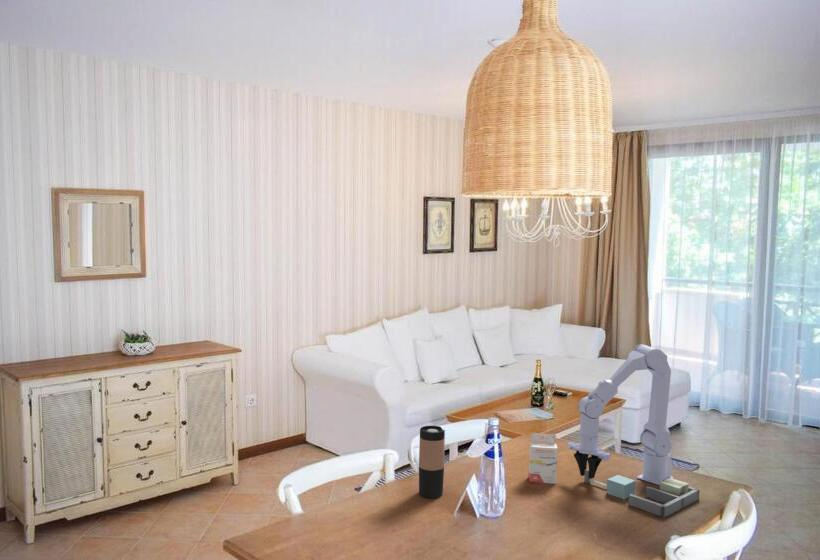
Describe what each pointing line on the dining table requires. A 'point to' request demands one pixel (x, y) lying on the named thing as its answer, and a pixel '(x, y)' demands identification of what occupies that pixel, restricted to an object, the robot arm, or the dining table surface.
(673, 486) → the sage block
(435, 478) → the travel mug
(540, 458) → the ink cartridge box
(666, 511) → the lane rack
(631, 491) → the teal block with cord
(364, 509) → the dining table surface
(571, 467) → the dining table surface
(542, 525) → the dining table surface
